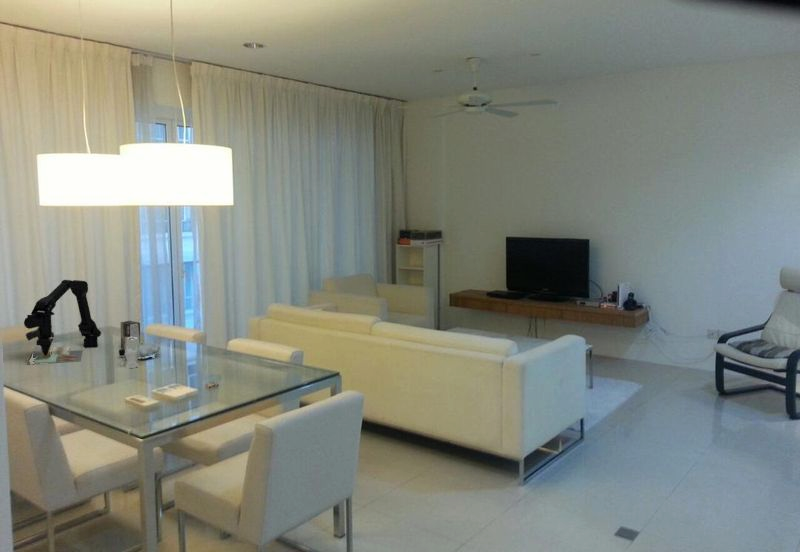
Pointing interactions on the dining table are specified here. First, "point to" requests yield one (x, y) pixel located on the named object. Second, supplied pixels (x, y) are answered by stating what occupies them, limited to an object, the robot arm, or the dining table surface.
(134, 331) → the coffee box
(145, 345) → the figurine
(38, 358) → the tray
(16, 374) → the dining table surface
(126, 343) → the beer glass
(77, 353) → the mat
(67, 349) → the beige slab
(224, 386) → the dining table surface
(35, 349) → the bench stop
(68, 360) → the socket
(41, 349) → the dowel
